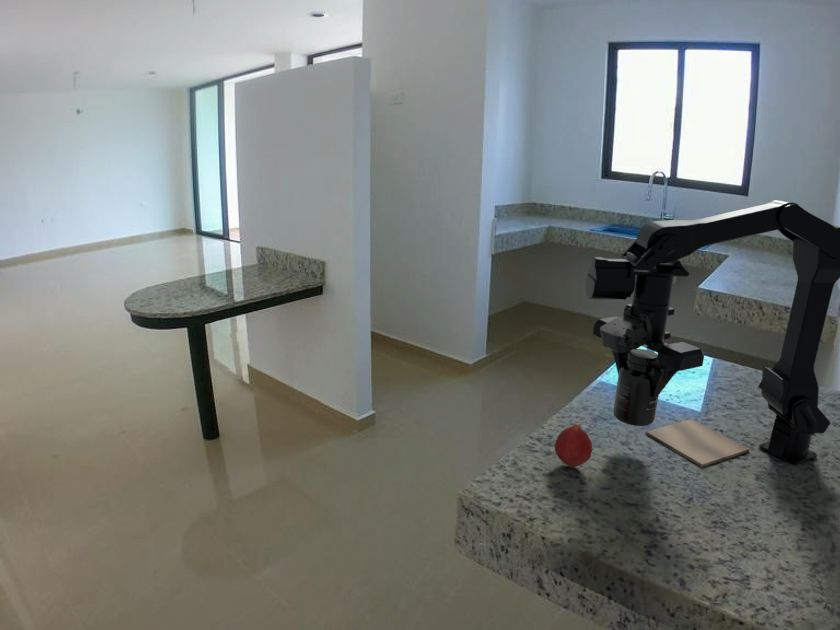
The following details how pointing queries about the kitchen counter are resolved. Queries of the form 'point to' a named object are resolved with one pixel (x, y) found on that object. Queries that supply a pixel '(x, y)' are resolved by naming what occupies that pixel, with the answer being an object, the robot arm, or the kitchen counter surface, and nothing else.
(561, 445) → the onion
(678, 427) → the tan board
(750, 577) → the kitchen counter surface
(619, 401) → the supplement bottle
